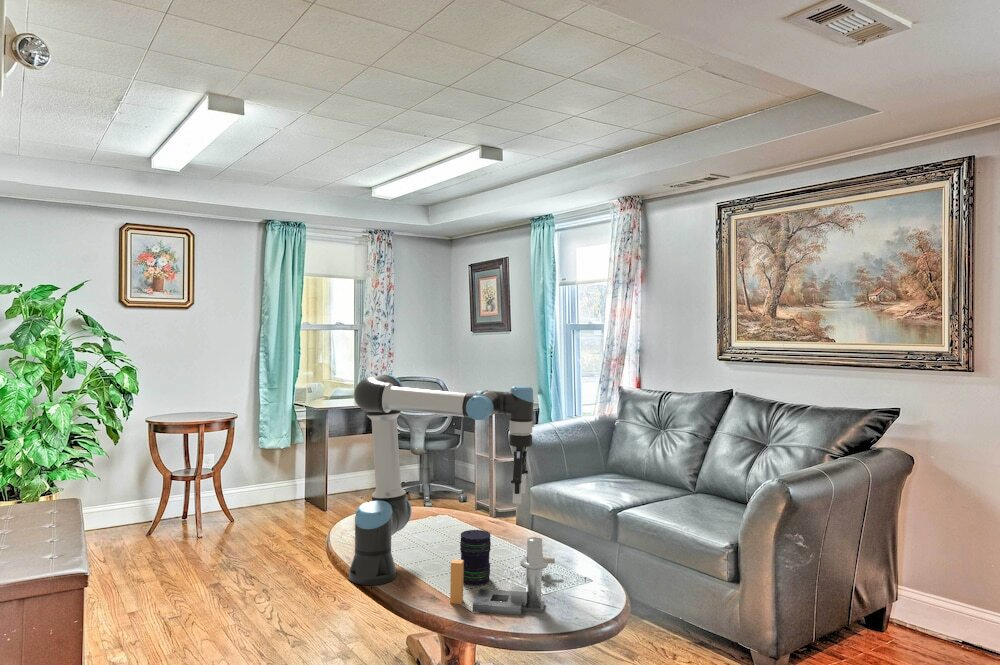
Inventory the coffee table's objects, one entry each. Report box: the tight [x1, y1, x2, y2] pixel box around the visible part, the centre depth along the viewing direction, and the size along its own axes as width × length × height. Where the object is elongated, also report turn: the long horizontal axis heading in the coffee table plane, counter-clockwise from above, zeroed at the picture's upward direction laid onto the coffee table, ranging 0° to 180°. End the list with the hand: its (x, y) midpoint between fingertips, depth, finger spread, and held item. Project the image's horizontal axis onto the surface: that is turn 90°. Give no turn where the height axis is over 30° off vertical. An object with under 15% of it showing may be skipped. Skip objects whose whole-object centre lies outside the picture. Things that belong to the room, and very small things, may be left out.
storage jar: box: [459, 529, 492, 587], centre depth 225 cm, size 10×10×15 cm
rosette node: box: [472, 536, 549, 616], centre depth 205 cm, size 21×12×20 cm, turn 81°
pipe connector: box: [523, 544, 556, 565], centre depth 231 cm, size 10×10×10 cm
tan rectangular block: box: [449, 558, 464, 605], centre depth 208 cm, size 3×3×12 cm
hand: (519, 498), depth 229 cm, fingers open, 13 cm apart
